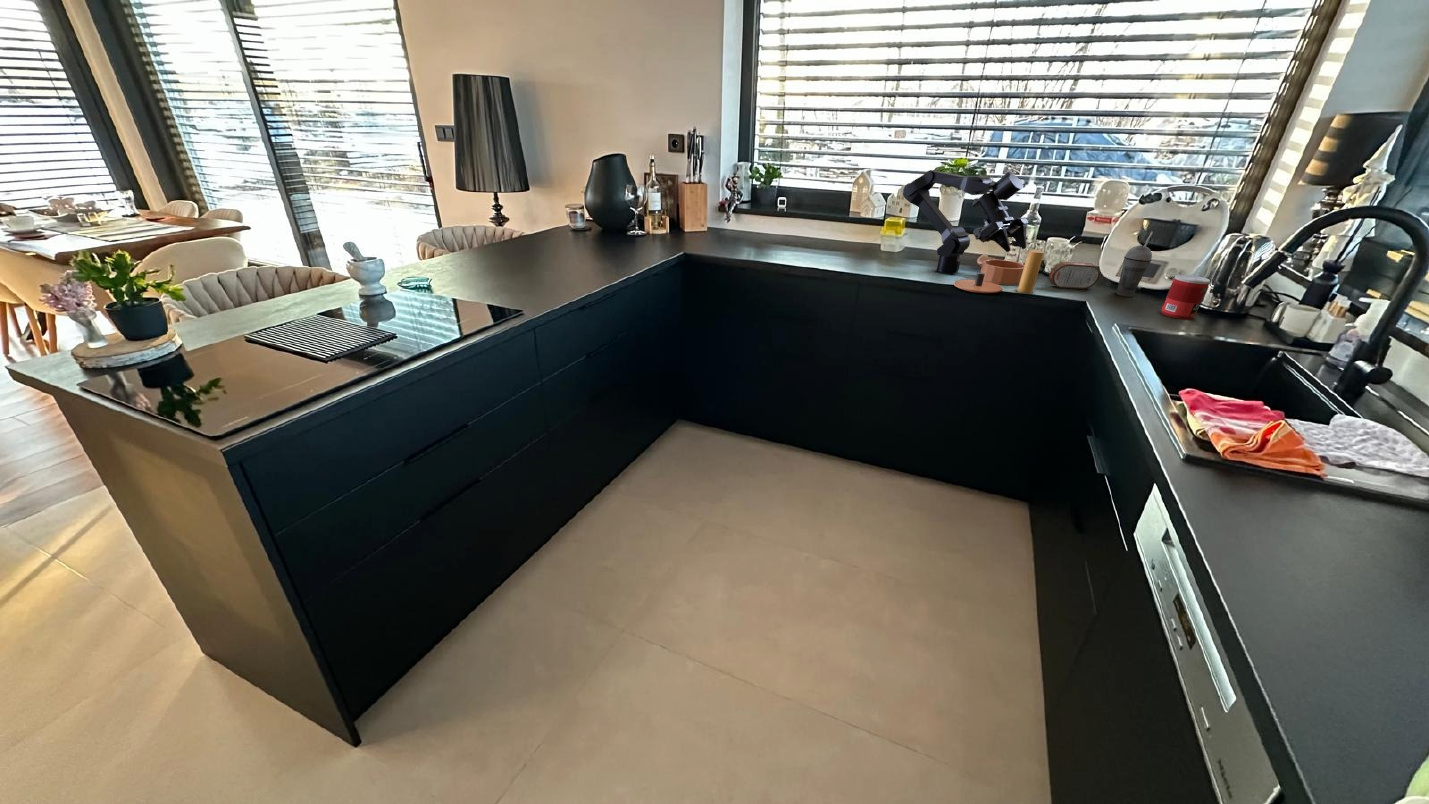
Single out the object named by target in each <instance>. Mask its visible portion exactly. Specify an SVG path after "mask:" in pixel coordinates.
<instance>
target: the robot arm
mask: <svg viewBox="0 0 1429 804" xmlns="http://www.w3.org/2000/svg"><path fill="white" fill-rule="evenodd" d="M935 184H937V185H942V186H947V187H952V188H957V189H960V190H961V191H963V192H964V193H967V194H968V195H971V196H979V195H981V196H979V197H977V198H976V197H975V198H974V199H973V202H972V205H971V206H972V208H979V207H980V209H981V210H982V212H983V214H984V216H985V217H984V218H983V222H984V225H982V226H981V227H975V228H974V229H973V231H972V234H973V236H974V238H975V240H977V241H980V242H981V243H983V244H984V243H986V242H987V243H989V242H990V241H993V242H994V243H996V244H997V246H999V247H1000V248H1001V249H1003V250H1004V251H1005V252H1006V253H1010V252H1011V251H1012V250H1011V244H1010V240H1009V238H1013V240H1014V241H1015V242H1016V243H1017V245H1018V246H1019V247H1020V248H1021V249H1022V250H1025V249H1026V248H1027V229H1028V224H1029V221H1028V219H1027V218H1026V217H1018V218H1014V217H1013V216H1010V215H1009V213H1008V211H1007V210H1009V208H1008V206H1007V205H1005V206H1004V205H1003V203H1002V201H1008V200H1009V199H1010V198H1011V197H1013V196H1014V195H1015V194H1017V193H1018V192H1019V191H1021V190H1022V189H1023V187H1024V185H1023V181H1022V180H1021V179H1020V178H1019V177H1018V176H1016V175H1014V173H1013V172H1012V171H1006V173H1005V174H1004V175H1003V176H1002V177H1001V178H1000V179H998V180H997V181H994V180H992V178H991V177H990V176H988V175H971V176H968V175H967V176H966V175H960V174H956V173H951V172H945V171H940V170H938V169H932V170H931V169H929V170H927V171H926V172H925V173H923V174H922V175H921V176H918V177H917V178H915V179H914V180H912V181H911V182H908V183H907V184H905V185H904V186H903V189H902V197H903V199H905V200H906V201H907V202H908V203H910V204H911V205H914V206H916V207H917V208H919V210H920V211H921V212H922V213H923V215H924V216H925V217H926V218H927V220H928V221H929V222H930V224H931V225H932V226H933V227H934V229H936V231H937V232H938V234H939V235H940V238H941V243H942V245H939V246H938V248H937V249H936V253H937V256H939V257H938V262H937V266H936V269H935V270H934V272H935V273H940V274H946V275H954V274H956V273H958V272H959V271H960V270H959V269H960V264H961V259H960V258H961V256H962V255H964V253H965V251H967V249H969V247H970V245H971V238H970V234H969V233H968V232H966V230H965V228H964V227H963V226H957V227H956V226H954V225H953V224H952V223H951V222H950V221H949V220H948V218H947V217H946V216H945V215H944V213H943V212H942V211H941V210H940V208H939V207H938V206H937V205H936V204H935V202H934V201H933V200H932V199H931V194H930V193H931V192H930V190H931V189H932V188H933V187H934V185H935Z"/></svg>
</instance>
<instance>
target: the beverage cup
mask: <svg viewBox="0 0 1429 804" xmlns="http://www.w3.org/2000/svg"><path fill="white" fill-rule="evenodd" d="M1153 234H1154V231H1150V234H1149V235H1148V237H1147V239H1146V241H1145V244H1144V245H1135V246H1133V247H1131V248H1130V249H1128V250H1127V252H1126V253H1125V254H1124V256H1123V262H1122V267H1121V268H1122V269H1121V273H1120V276H1119V281H1118V285H1117V290H1116V295H1118V296H1121V297H1130V298H1131V297H1133V296H1134V294H1135V292H1136V291H1137V289H1138V287H1139V285H1140V283H1141V281H1142V278H1143V277H1144V274H1145V272H1146V270H1147V268H1148V267H1149V266H1150V263H1151V262H1152V260H1153V259H1152V258H1153V253H1152V250H1151V249H1150V248H1149V247H1148V246H1147V245H1148V243H1149V241H1150V239H1151V237H1152V235H1153Z"/></svg>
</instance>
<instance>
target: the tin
mask: <svg viewBox="0 0 1429 804" xmlns="http://www.w3.org/2000/svg"><path fill="white" fill-rule="evenodd" d="M1100 277H1101V271H1100V269H1099V267H1097V265H1095V264H1094V263H1090V262H1076V261H1062V262H1059V263H1057V264H1056V265H1054V266H1053V267H1052V268H1051V269H1050V271H1049V274H1048V280H1049V282H1050V284H1051V285H1053V286H1055V287H1056V288H1058V289H1059V288H1060V289H1074V290H1076V289H1077V290H1087V289H1090V288H1091V287H1092V288H1093V286H1095V284H1097V282H1098V281H1099V279H1100Z"/></svg>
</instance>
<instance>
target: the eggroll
mask: <svg viewBox="0 0 1429 804" xmlns="http://www.w3.org/2000/svg"><path fill="white" fill-rule="evenodd" d="M1044 255H1045V251H1043V250H1039V249H1029V250H1028V251H1027V255H1026V259H1025V262H1024V269H1023V272H1022V276H1021V280H1020V283H1019V284H1018V287H1017V292H1018V293H1020V294H1021V293H1022V294H1026V295H1027V294H1029V295H1030V294H1033V292H1034V289H1035V286H1036V282H1037V278H1038V275H1039V272H1040V268H1041V266H1042V261H1043V258H1044Z"/></svg>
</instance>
